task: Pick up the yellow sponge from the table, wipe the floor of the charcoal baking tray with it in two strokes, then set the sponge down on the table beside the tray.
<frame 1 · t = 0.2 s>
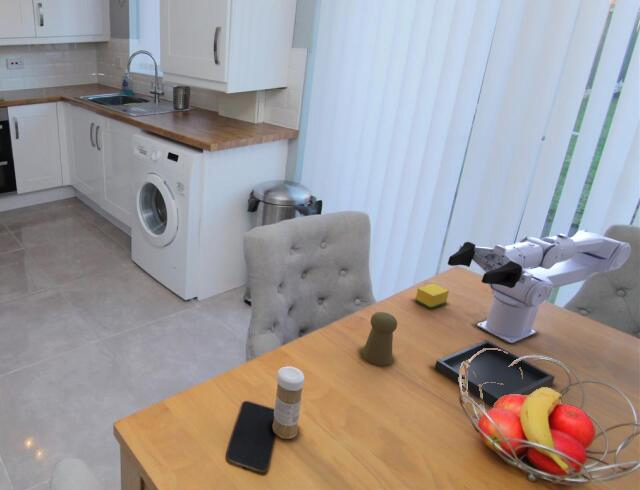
hand: (466, 269, 102), 21 cm above the table, tool horizontal, fingers open, 7 cm apart
tray: (491, 376, 102), on the table
sponge: (430, 302, 128), on the table
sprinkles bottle: (284, 431, 90), on the table
olive pawn: (376, 357, 109), on the table
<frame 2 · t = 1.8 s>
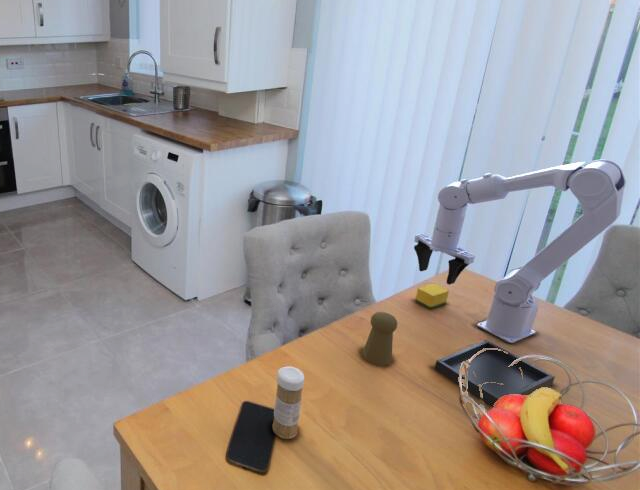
hand: (436, 276, 126), 8 cm above the table, tool pointing down, fingers open, 7 cm apart
nothing on the table moved.
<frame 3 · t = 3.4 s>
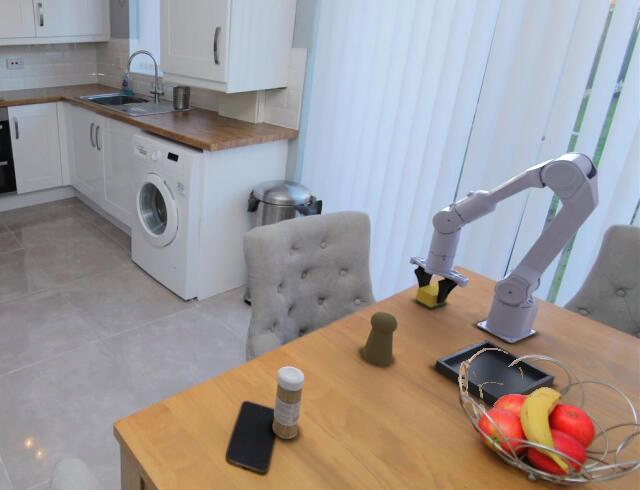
hand: (431, 297, 128), 1 cm above the table, tool pointing down, fingers closed on sponge, 4 cm apart
sponge: (430, 302, 128), on the table, touching gripper
everything else where it was.
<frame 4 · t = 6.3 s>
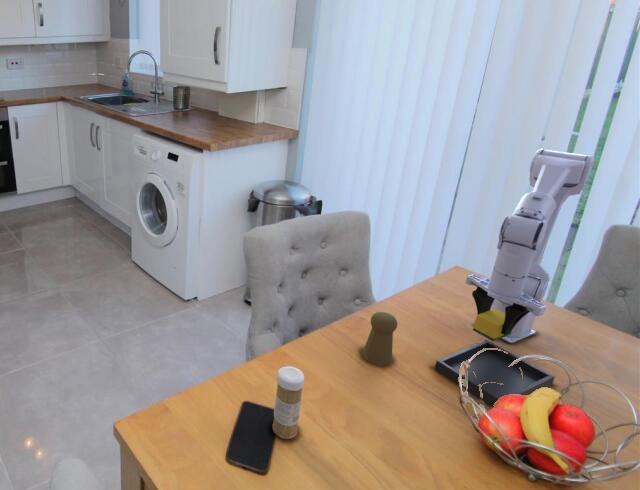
hand: (493, 326, 104), 8 cm above the table, tool pointing down, fingers closed on sponge, 4 cm apart
sponge: (491, 332, 105), point 7 cm above the table, touching gripper
everything else where it was.
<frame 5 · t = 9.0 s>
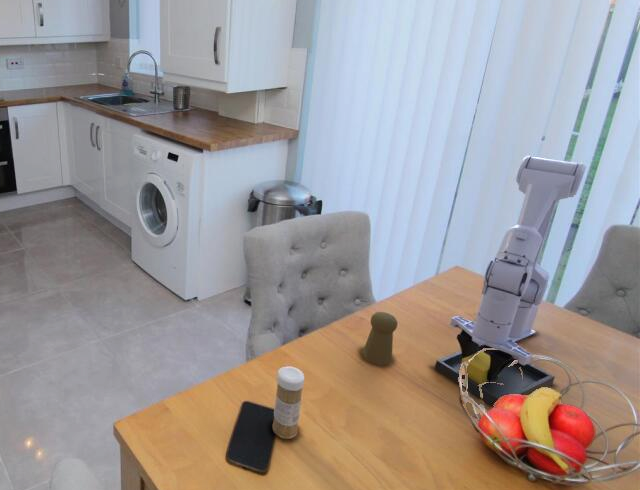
hand: (478, 371, 101), 2 cm above the table, tool pointing down, fingers closed on sponge, 4 cm apart
sponge: (477, 376, 101), point 1 cm above the table, touching gripper
everything else where it was.
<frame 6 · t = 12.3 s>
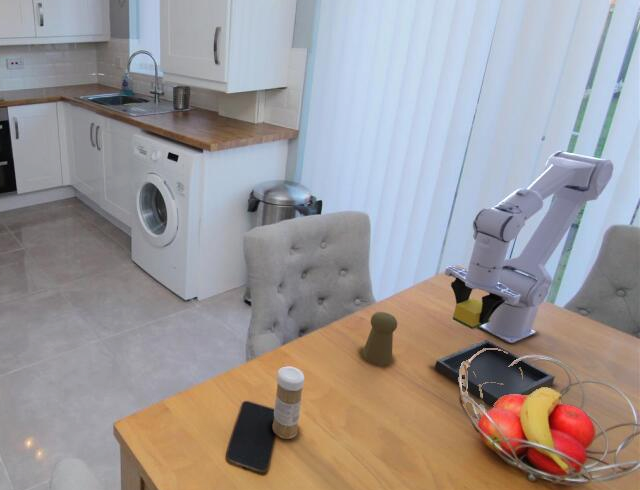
hand: (471, 316, 108), 8 cm above the table, tool pointing down, fingers closed on sponge, 4 cm apart
sponge: (470, 320, 108), point 7 cm above the table, touching gripper
everything else where it was.
when the fingers open (1 cm above the table, at t = 15.0 s): sponge stays where it is, on the table.
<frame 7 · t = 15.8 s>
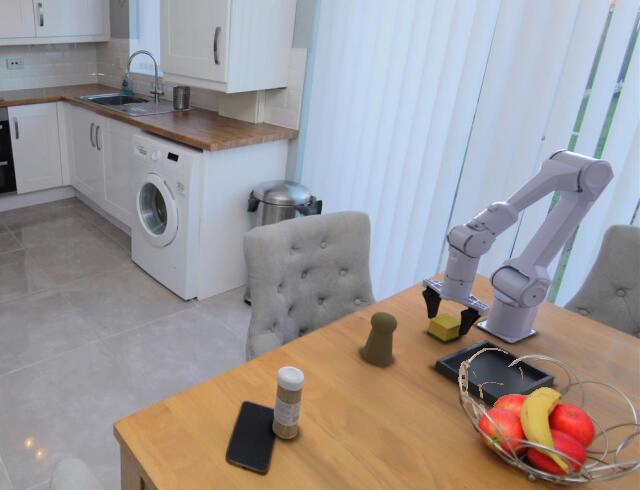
hand: (446, 325, 115), 3 cm above the table, tool pointing down, fingers open, 7 cm apart
sponge: (444, 334, 115), on the table
everything else where it was.
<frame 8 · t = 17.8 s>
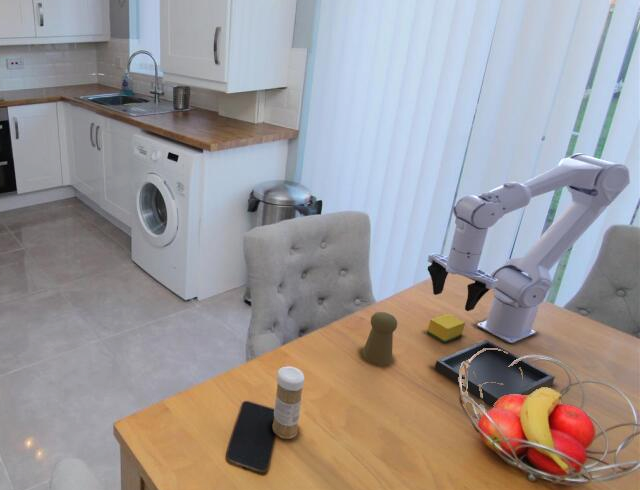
hand: (452, 301, 112), 9 cm above the table, tool pointing down, fingers open, 7 cm apart
nothing on the table moved.
at the end: sponge inside the target area on the table beside the tray (0.1 cm from its centre), on the table; the gripper is holding nothing; sponge tilted 0° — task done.
